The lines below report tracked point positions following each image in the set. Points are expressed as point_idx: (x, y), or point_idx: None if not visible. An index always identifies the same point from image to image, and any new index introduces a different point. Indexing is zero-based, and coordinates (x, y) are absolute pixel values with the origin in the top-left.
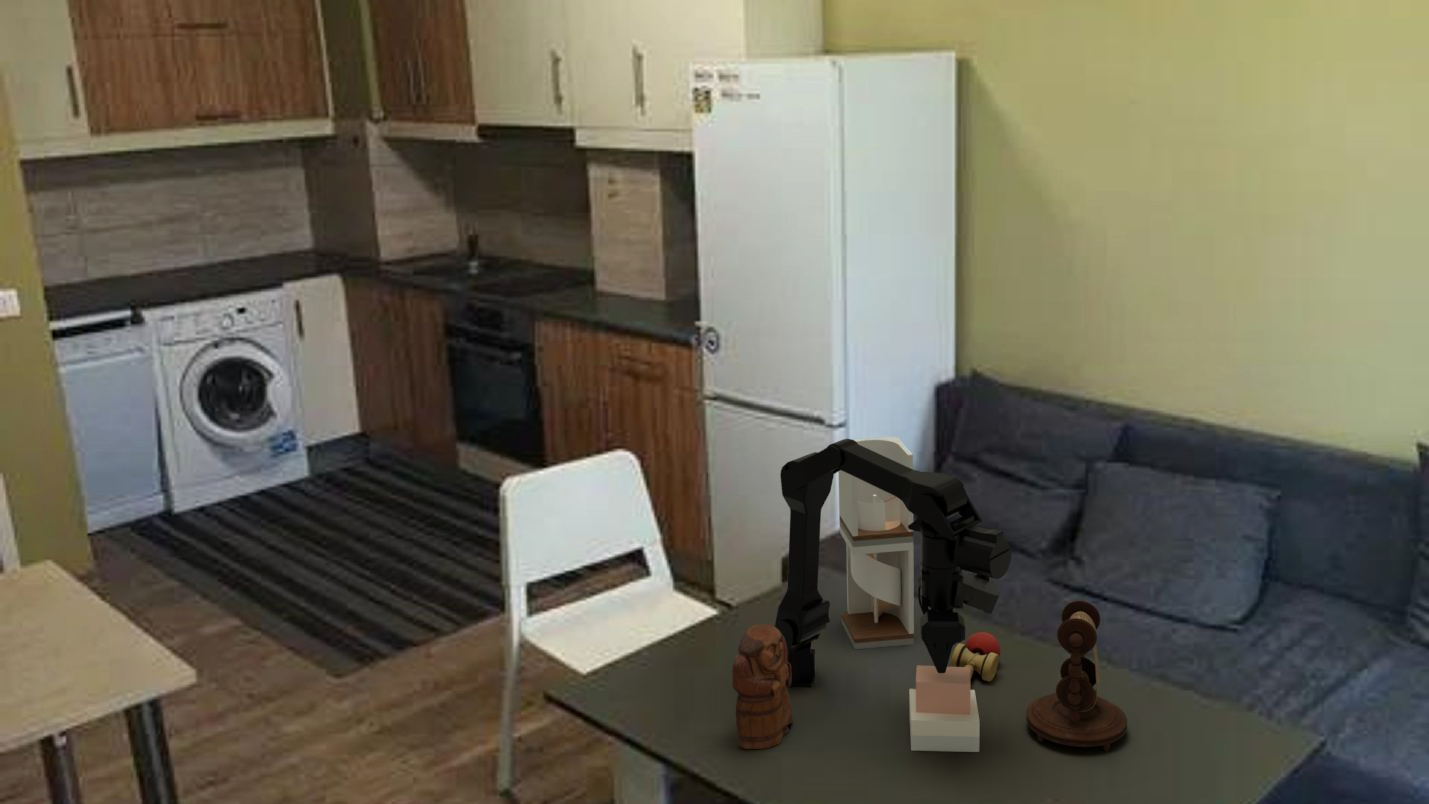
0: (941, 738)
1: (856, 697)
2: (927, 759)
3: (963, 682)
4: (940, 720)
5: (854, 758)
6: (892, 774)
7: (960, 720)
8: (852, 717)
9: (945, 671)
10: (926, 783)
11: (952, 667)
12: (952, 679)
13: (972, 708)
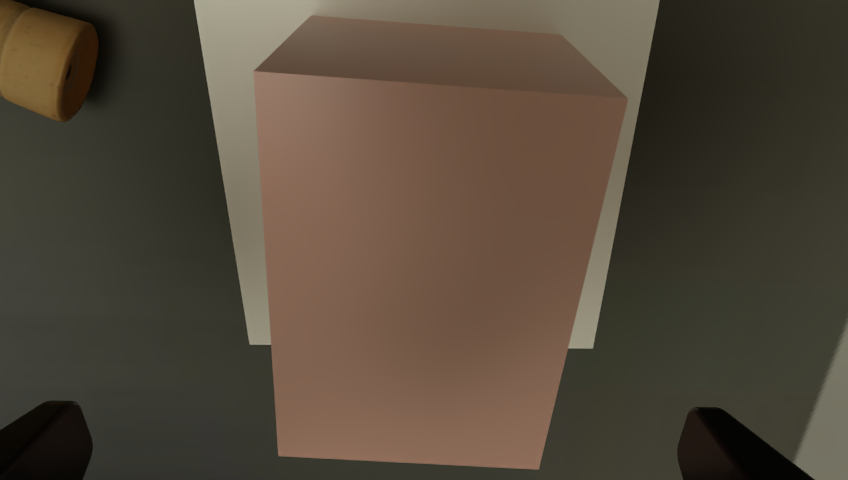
0: None
1: (153, 420)
2: (635, 203)
3: (582, 160)
4: (615, 217)
5: (594, 426)
6: (724, 324)
7: (629, 104)
8: None
9: (730, 417)
10: (821, 215)
11: (280, 232)
12: (519, 247)
13: (475, 10)
